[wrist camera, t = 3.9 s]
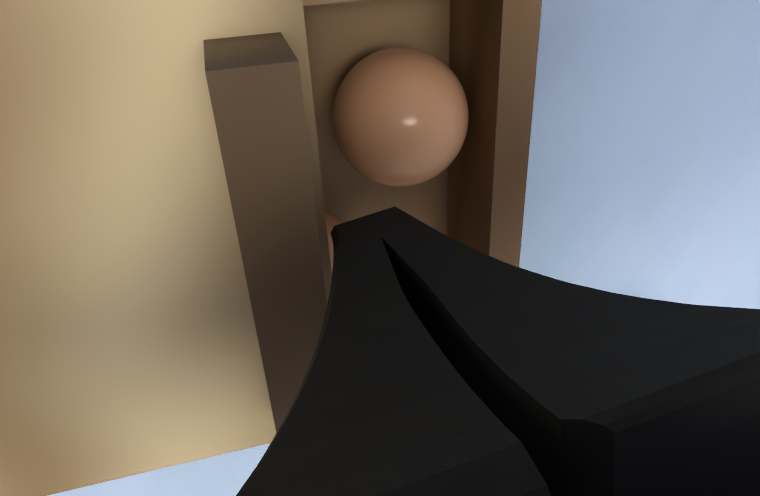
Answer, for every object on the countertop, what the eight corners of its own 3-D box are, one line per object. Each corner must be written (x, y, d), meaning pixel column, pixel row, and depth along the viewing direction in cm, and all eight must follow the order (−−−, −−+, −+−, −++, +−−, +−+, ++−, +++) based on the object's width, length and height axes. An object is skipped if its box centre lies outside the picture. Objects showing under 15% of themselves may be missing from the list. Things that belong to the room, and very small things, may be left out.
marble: (441, 28, 14) (495, 56, 11) (440, 148, 16) (487, 197, 13) (315, 41, 13) (342, 74, 11) (327, 165, 15) (353, 219, 12)
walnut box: (470, -73, 14) (547, -65, 11) (461, 283, 19) (511, 356, 16) (-115, -31, 11) (-226, -6, 8) (56, 363, 17) (25, 465, 14)
